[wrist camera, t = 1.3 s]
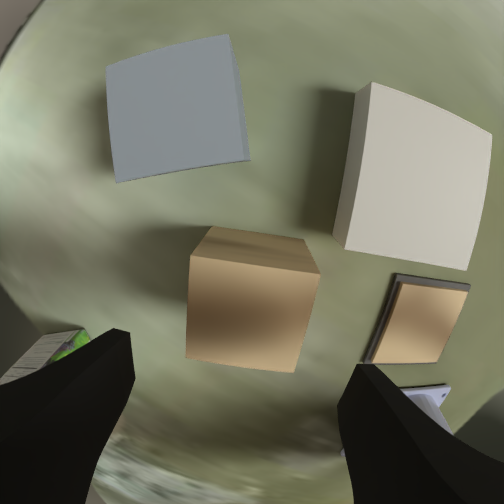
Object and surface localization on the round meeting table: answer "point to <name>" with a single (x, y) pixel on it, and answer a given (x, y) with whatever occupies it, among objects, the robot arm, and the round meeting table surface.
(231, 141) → the slate cube
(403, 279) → the tile
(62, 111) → the round meeting table surface
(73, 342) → the syrup box
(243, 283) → the maple cube
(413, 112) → the base block
